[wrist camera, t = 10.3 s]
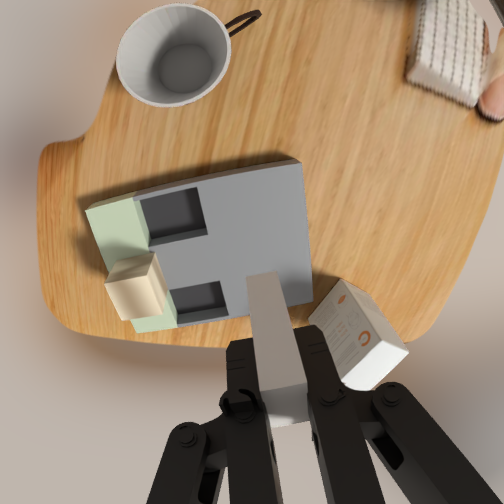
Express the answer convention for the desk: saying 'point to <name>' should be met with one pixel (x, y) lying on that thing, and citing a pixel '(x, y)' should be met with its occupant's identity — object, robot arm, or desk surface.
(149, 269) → the maple block
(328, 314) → the small box
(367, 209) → the desk surface
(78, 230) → the desk surface
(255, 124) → the desk surface
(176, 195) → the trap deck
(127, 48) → the coffee mug
